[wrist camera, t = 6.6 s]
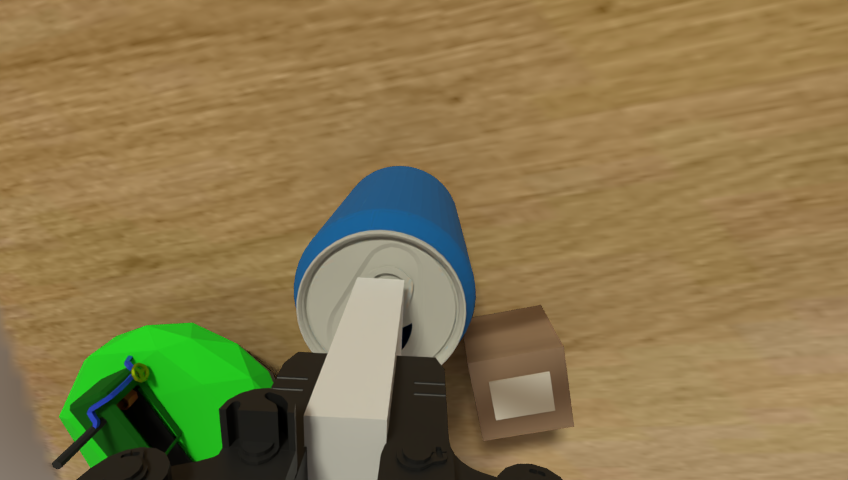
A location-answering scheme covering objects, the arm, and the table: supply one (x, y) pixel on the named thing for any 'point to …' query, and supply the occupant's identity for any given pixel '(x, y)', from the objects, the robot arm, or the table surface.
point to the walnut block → (517, 373)
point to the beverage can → (391, 262)
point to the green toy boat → (157, 393)
